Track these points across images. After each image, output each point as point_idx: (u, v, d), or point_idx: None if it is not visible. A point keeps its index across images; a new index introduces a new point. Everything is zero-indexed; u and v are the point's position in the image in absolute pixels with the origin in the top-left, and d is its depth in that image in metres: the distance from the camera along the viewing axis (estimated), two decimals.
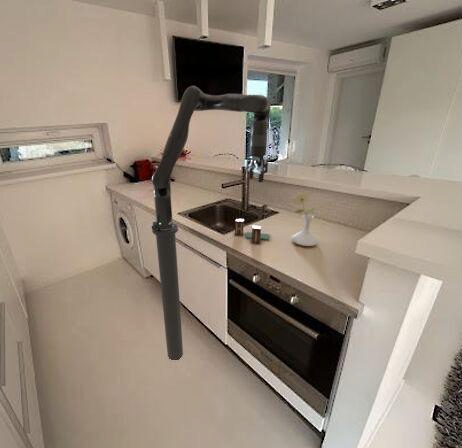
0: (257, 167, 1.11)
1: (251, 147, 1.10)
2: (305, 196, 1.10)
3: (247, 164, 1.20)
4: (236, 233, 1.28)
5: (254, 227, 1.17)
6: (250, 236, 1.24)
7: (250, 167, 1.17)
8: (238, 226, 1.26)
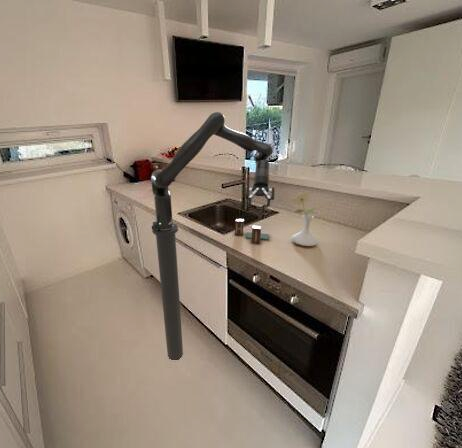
0: (267, 193, 1.24)
1: (262, 176, 1.26)
2: (305, 196, 1.10)
3: (247, 192, 1.27)
4: (236, 233, 1.28)
5: (254, 227, 1.17)
6: (250, 236, 1.24)
7: (253, 194, 1.26)
8: (238, 226, 1.26)
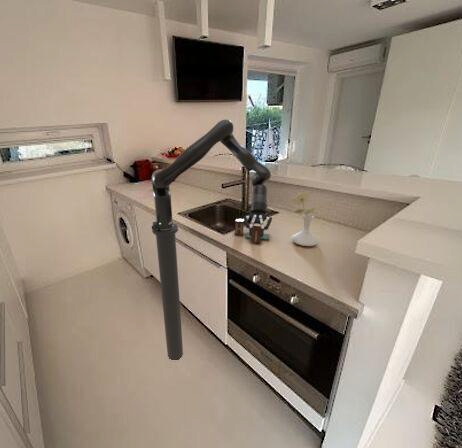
0: None
1: (260, 202, 1.19)
2: (305, 196, 1.10)
3: (246, 221, 1.19)
4: (236, 233, 1.28)
5: (254, 227, 1.17)
6: None
7: (253, 223, 1.18)
8: (238, 226, 1.26)
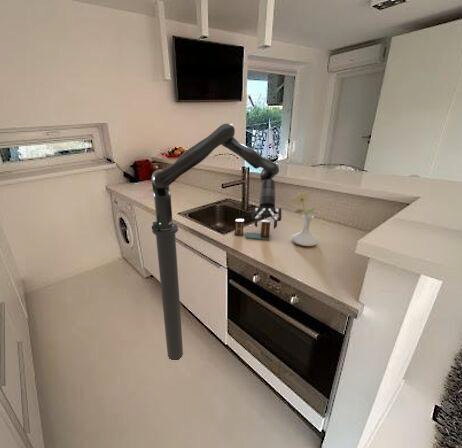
0: (273, 214, 1.20)
1: (269, 196, 1.23)
2: (305, 196, 1.10)
3: (253, 213, 1.24)
4: (236, 233, 1.28)
5: (263, 221, 1.21)
6: (250, 236, 1.24)
7: (260, 215, 1.22)
8: (238, 226, 1.26)
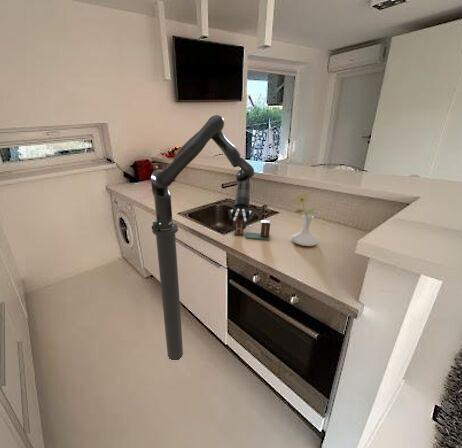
0: None
1: (243, 197, 1.28)
2: (305, 196, 1.10)
3: (230, 215, 1.29)
4: (236, 233, 1.28)
5: (263, 221, 1.21)
6: (250, 236, 1.24)
7: (236, 216, 1.27)
8: (238, 226, 1.26)
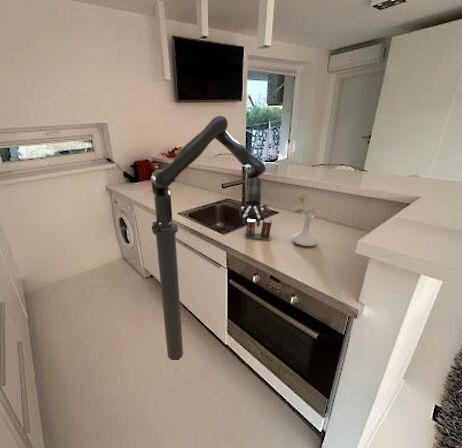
0: None
1: (254, 194, 1.24)
2: (305, 196, 1.10)
3: (240, 212, 1.25)
4: (247, 234, 1.24)
5: (265, 221, 1.21)
6: (250, 236, 1.24)
7: (247, 213, 1.24)
8: (250, 227, 1.23)
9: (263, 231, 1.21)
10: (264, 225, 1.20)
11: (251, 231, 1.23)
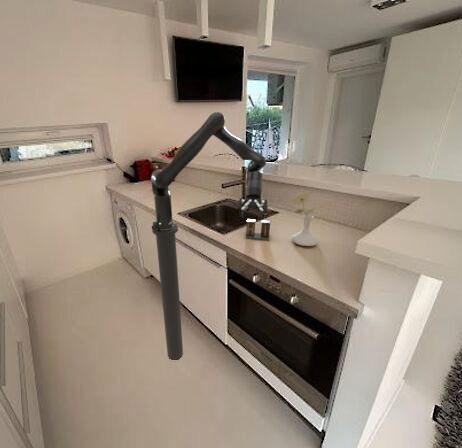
0: (259, 205, 1.22)
1: (255, 188, 1.24)
2: (305, 196, 1.10)
3: (240, 204, 1.25)
4: (247, 234, 1.24)
5: (263, 221, 1.21)
6: (250, 236, 1.24)
7: (246, 206, 1.24)
8: (250, 227, 1.23)
9: (262, 231, 1.22)
10: (263, 225, 1.20)
11: (251, 231, 1.23)
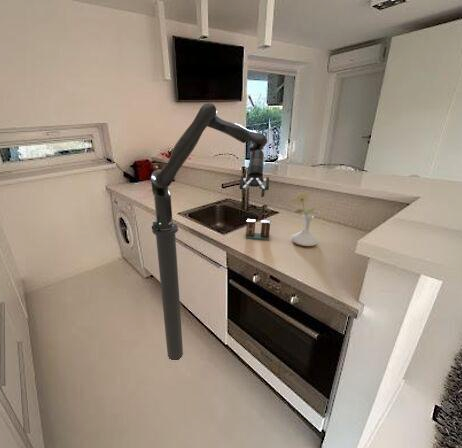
0: (261, 183, 1.21)
1: (256, 166, 1.23)
2: (305, 196, 1.10)
3: (241, 182, 1.24)
4: (247, 234, 1.24)
5: (263, 221, 1.21)
6: (250, 236, 1.24)
7: (247, 184, 1.22)
8: (250, 227, 1.23)
9: (262, 231, 1.22)
10: (263, 225, 1.20)
11: (251, 231, 1.23)
